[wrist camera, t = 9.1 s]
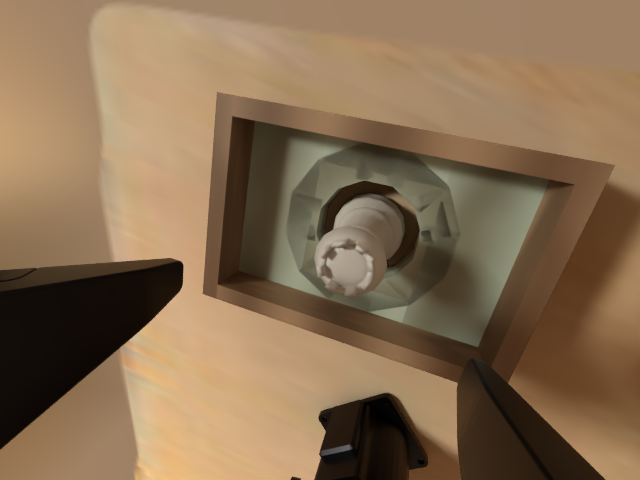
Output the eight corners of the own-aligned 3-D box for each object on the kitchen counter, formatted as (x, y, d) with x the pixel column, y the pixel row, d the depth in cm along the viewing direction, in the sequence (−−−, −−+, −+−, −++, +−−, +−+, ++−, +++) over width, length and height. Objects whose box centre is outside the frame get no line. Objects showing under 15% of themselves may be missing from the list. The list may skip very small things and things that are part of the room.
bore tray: (563, 161, 16) (615, 165, 12) (482, 346, 20) (500, 397, 16) (257, 104, 20) (216, 92, 16) (239, 269, 24) (202, 293, 20)
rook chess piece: (403, 261, 20) (396, 325, 13) (336, 255, 21) (296, 310, 14) (408, 193, 19) (404, 220, 12) (337, 191, 20) (293, 214, 13)
